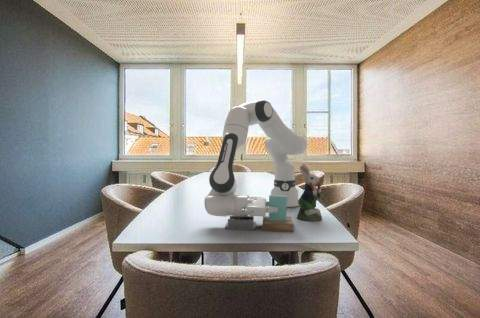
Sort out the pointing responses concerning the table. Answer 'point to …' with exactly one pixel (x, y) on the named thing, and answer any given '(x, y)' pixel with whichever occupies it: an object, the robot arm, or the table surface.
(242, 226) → the rack
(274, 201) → the sign block
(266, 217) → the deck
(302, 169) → the figurine
